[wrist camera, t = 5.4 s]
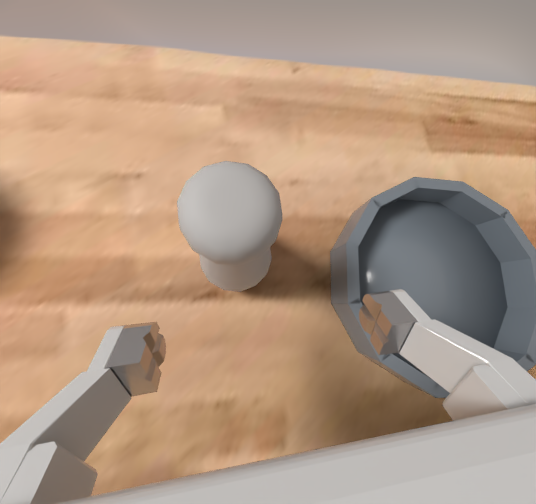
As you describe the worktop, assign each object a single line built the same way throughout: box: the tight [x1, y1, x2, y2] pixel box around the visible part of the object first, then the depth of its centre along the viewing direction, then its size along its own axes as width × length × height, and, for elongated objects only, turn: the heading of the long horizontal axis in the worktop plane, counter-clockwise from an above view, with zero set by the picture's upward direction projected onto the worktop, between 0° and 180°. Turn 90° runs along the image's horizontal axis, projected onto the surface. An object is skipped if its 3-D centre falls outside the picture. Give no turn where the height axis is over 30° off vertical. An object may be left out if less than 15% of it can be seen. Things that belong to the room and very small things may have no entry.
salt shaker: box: [177, 161, 282, 292], centre depth 15 cm, size 6×6×13 cm
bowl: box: [330, 177, 536, 398], centre depth 21 cm, size 18×18×4 cm
